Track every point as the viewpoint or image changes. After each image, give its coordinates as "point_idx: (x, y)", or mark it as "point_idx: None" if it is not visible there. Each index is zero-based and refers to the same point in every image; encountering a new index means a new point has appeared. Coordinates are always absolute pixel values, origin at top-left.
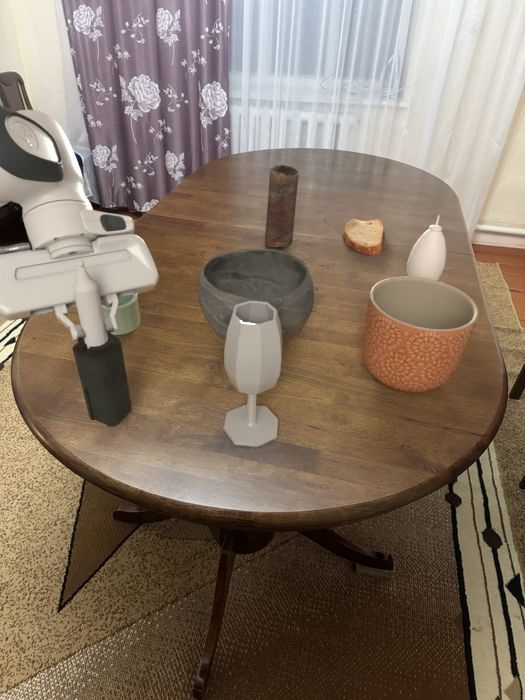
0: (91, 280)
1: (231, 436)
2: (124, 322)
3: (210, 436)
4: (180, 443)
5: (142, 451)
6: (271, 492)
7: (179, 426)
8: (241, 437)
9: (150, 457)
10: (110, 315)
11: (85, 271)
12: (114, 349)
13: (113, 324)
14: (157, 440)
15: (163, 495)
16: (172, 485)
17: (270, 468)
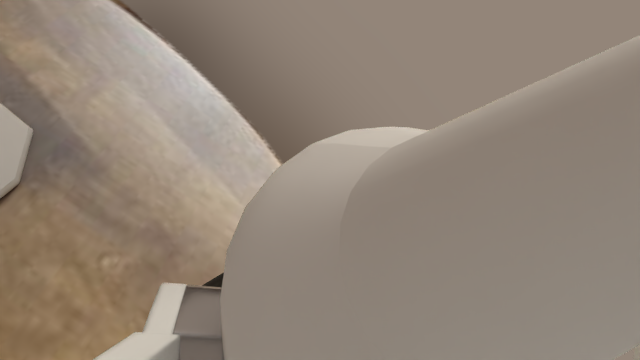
0: (336, 184)
1: (22, 144)
2: None
3: (61, 190)
4: (138, 210)
5: (226, 236)
6: (64, 14)
7: (105, 262)
8: (4, 127)
9: (219, 211)
10: (167, 336)
11: (523, 92)
12: (219, 275)
13: (178, 295)
14: (180, 248)
15: (240, 117)
16: (214, 125)
17: (18, 50)
